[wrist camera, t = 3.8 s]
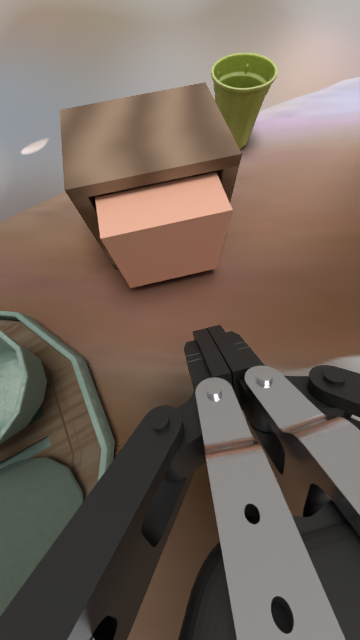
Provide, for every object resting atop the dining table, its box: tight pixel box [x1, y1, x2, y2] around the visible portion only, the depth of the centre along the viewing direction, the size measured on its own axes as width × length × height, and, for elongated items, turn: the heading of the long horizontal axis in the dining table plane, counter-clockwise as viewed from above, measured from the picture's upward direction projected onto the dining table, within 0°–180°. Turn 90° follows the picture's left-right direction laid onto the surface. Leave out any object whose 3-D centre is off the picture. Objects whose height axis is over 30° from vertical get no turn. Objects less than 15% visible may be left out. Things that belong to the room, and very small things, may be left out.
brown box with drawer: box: [60, 83, 242, 269], centre depth 24 cm, size 16×12×12 cm
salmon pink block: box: [95, 172, 232, 288], centre depth 22 cm, size 12×10×9 cm
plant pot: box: [211, 53, 278, 149], centre depth 31 cm, size 9×9×9 cm
